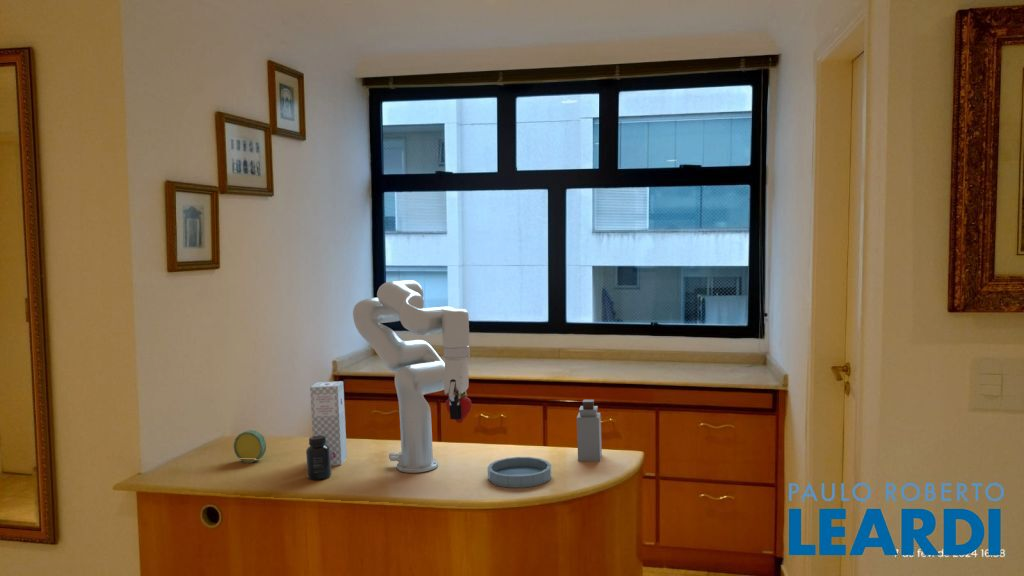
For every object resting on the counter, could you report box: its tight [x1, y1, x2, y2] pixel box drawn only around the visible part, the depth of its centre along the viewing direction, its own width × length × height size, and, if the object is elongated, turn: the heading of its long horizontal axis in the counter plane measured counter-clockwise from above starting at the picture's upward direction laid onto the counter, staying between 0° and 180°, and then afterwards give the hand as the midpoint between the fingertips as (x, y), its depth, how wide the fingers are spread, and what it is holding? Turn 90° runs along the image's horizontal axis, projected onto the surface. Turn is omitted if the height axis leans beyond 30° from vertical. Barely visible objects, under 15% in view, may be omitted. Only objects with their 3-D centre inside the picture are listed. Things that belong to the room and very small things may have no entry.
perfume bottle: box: [576, 399, 603, 462], centre depth 221 cm, size 7×7×18 cm
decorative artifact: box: [233, 429, 267, 464], centre depth 233 cm, size 10×7×10 cm
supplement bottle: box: [305, 435, 332, 481], centre depth 212 cm, size 7×7×12 cm
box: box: [309, 380, 348, 467], centre depth 227 cm, size 8×8×25 cm
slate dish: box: [487, 456, 552, 489], centre depth 205 cm, size 18×18×3 cm
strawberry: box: [445, 393, 473, 424], centre depth 201 cm, size 6×8×10 cm
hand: (458, 415), depth 201 cm, fingers closed on strawberry, 6 cm apart
